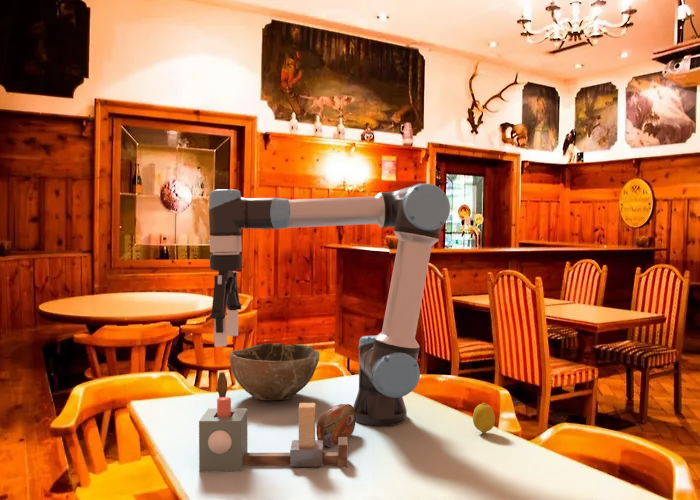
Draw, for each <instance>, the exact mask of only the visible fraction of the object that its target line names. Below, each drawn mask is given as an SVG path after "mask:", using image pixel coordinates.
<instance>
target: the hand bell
mask: <svg viewBox="0 0 700 500" xmlns="http://www.w3.org/2000/svg"><path fill="white" fill-rule="evenodd" d="M216 389H217V393H218V398H221V397H227V396H226V394H227V392H228V379H227V377H226V373H225V371H221V372H219V375H218V377H217V382H216Z"/></svg>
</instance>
